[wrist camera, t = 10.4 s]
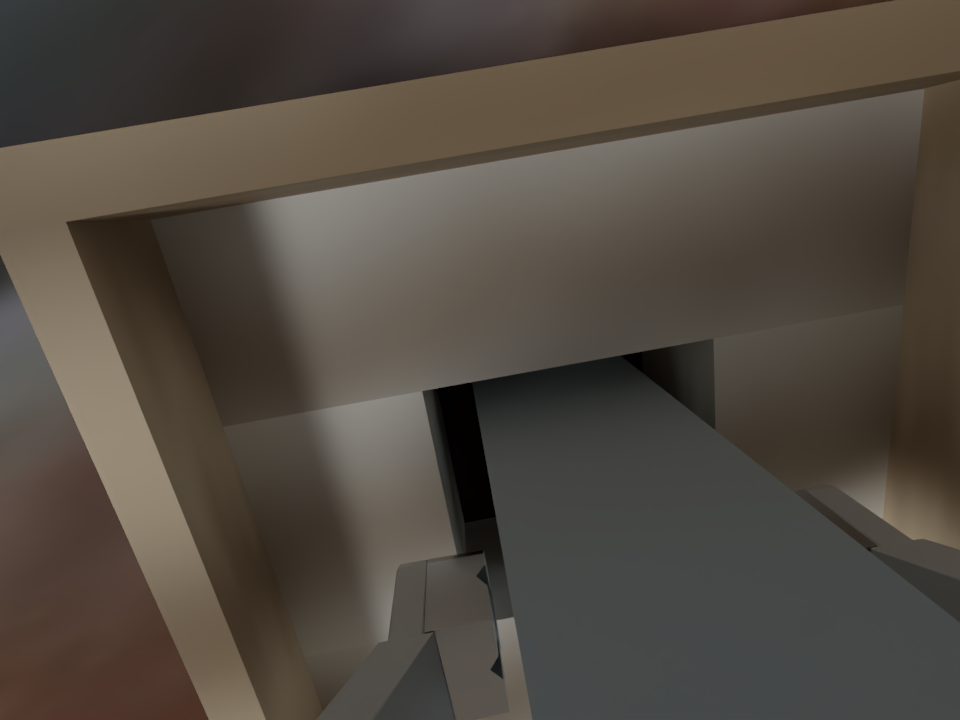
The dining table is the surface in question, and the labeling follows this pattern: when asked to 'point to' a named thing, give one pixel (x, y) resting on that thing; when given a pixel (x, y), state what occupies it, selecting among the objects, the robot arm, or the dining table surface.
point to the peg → (688, 569)
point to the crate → (491, 307)
